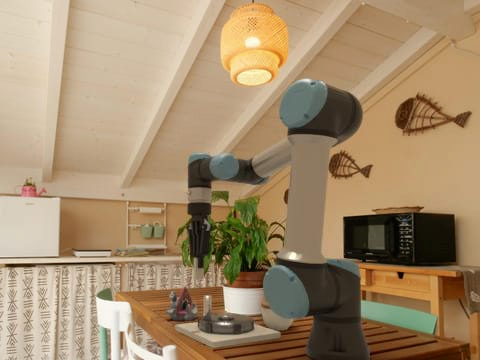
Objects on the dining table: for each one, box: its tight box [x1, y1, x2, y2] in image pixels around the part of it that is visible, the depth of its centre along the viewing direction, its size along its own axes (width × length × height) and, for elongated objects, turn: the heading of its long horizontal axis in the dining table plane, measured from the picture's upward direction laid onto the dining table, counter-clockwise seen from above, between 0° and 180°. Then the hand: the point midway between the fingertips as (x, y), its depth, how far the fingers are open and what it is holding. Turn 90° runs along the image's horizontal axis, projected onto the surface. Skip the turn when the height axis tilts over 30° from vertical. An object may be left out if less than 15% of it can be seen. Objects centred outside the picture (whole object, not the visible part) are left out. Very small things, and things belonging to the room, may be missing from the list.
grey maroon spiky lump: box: [165, 285, 199, 322], centre depth 144 cm, size 11×11×12 cm
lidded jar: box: [260, 300, 294, 332], centre depth 130 cm, size 11×11×9 cm
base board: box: [174, 321, 282, 349], centre depth 122 cm, size 24×22×2 cm
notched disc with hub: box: [197, 294, 255, 334], centre depth 123 cm, size 16×17×9 cm
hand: (198, 279), depth 126 cm, fingers closed
